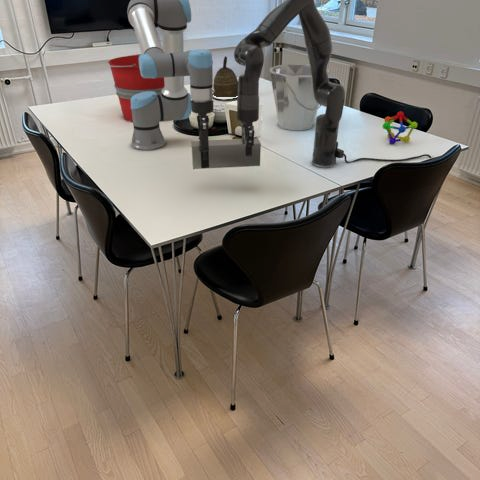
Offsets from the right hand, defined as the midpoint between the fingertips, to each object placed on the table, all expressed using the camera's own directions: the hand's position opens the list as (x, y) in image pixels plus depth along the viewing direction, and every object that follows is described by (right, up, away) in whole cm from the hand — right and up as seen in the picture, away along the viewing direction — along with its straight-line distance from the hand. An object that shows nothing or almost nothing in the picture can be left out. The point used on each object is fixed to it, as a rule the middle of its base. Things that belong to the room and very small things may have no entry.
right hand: (247, 152), depth 161 cm
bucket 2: (+27, +29, +72) cm, 82 cm away
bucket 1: (-55, +38, +85) cm, 108 cm away
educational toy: (+72, +14, +49) cm, 88 cm away
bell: (-11, +59, +120) cm, 134 cm away
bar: (-8, -4, +1) cm, 9 cm away
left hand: (-16, -4, 0) cm, 16 cm away
